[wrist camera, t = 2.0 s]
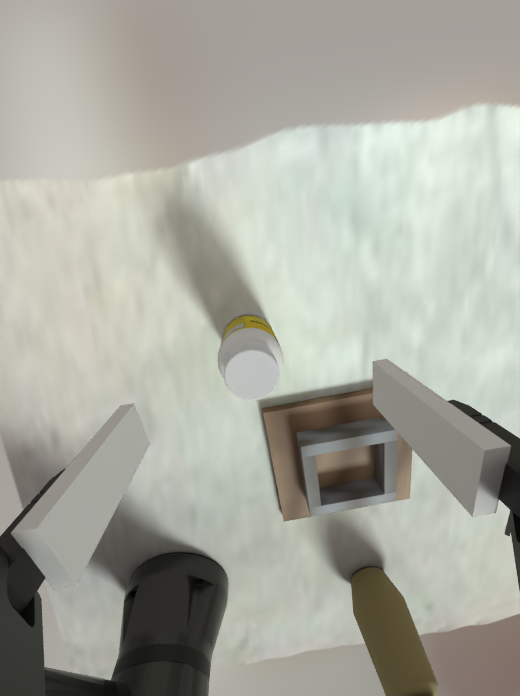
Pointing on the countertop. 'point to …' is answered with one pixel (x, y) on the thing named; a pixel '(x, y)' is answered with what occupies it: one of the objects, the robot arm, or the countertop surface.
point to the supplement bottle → (250, 357)
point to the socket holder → (336, 455)
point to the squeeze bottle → (391, 635)
